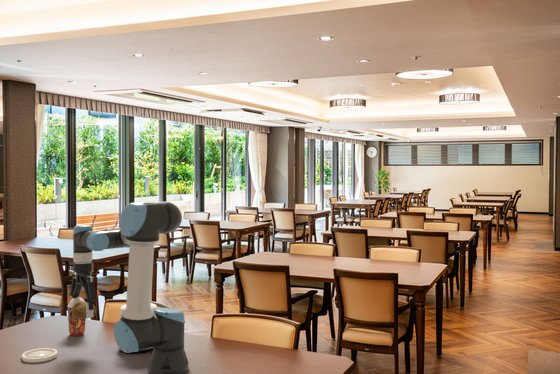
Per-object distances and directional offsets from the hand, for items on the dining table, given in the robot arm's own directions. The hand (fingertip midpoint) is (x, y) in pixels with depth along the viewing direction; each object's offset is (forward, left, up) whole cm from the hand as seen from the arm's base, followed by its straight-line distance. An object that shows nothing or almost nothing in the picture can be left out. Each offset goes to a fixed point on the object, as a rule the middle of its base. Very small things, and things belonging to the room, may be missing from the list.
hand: (83, 315), depth 233 cm
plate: (+5, +16, -15) cm, 22 cm away
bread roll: (0, 0, -1) cm, 1 cm away
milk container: (-14, -18, -15) cm, 27 cm away
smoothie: (+23, -10, -15) cm, 30 cm away
